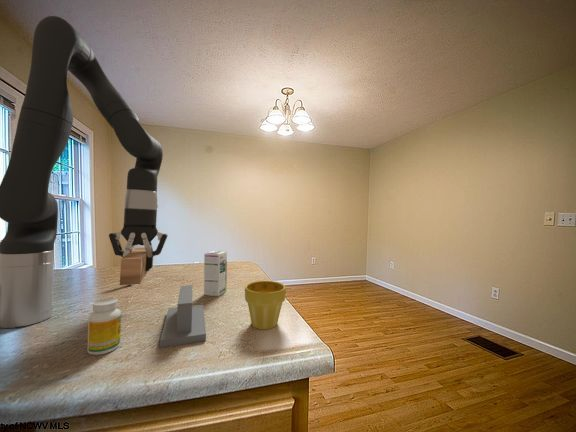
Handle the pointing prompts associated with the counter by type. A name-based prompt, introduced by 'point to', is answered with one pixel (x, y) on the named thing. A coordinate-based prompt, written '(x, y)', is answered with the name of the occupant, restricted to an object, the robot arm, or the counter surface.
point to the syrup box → (215, 273)
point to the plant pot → (264, 302)
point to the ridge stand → (184, 321)
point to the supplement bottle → (104, 327)
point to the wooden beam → (133, 267)
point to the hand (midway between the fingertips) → (138, 270)
